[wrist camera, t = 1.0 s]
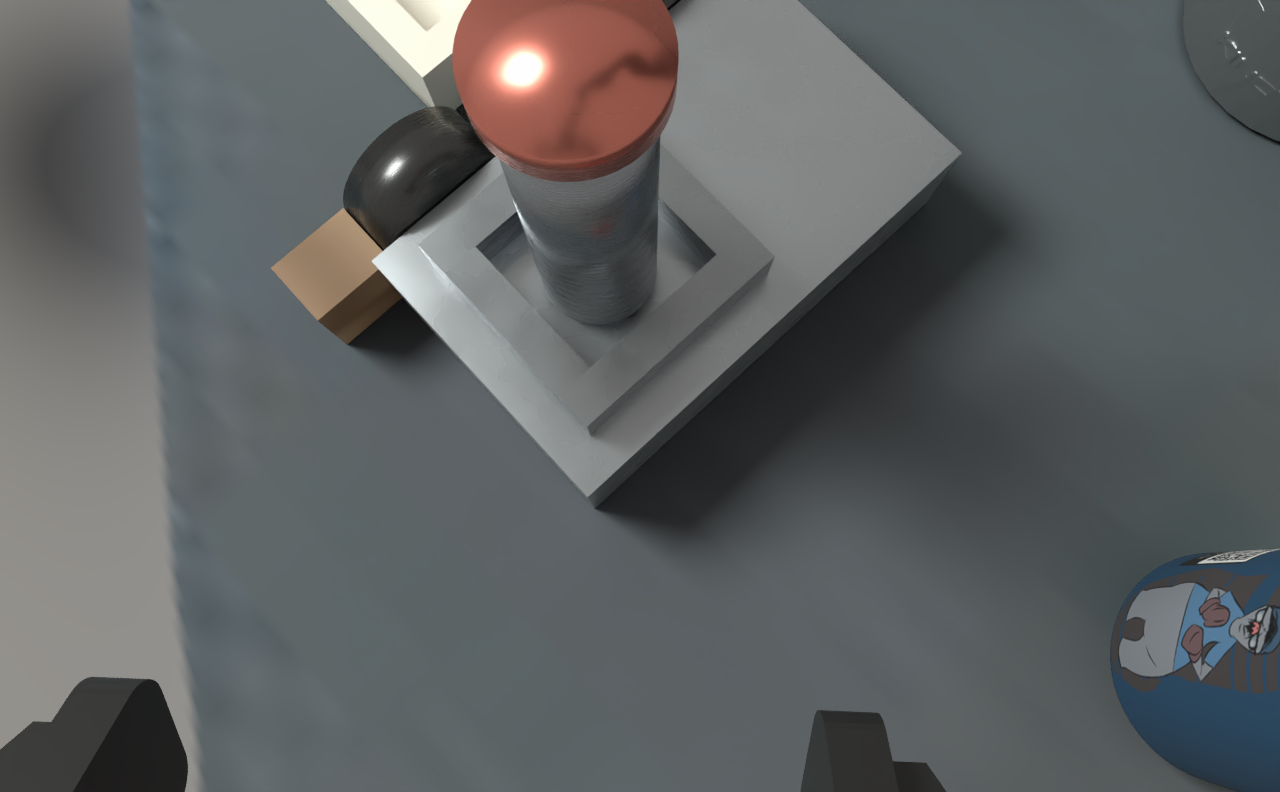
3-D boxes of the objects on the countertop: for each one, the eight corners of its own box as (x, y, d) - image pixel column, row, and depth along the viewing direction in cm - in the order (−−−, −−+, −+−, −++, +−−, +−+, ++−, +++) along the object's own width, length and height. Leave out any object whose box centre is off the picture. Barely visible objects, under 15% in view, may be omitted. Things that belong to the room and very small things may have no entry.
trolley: (685, -24, 36) (692, -135, 30) (925, 203, 34) (979, 128, 28) (358, 250, 34) (302, 184, 28) (594, 508, 32) (583, 491, 26)
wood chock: (369, 241, 34) (343, 208, 31) (412, 288, 33) (390, 259, 30) (303, 296, 33) (270, 267, 30) (347, 344, 33) (317, 320, 30)
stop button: (602, 179, 30) (574, -87, 18) (694, 271, 29) (725, 58, 18) (502, 265, 29) (405, 48, 18) (593, 362, 29) (556, 204, 17)
